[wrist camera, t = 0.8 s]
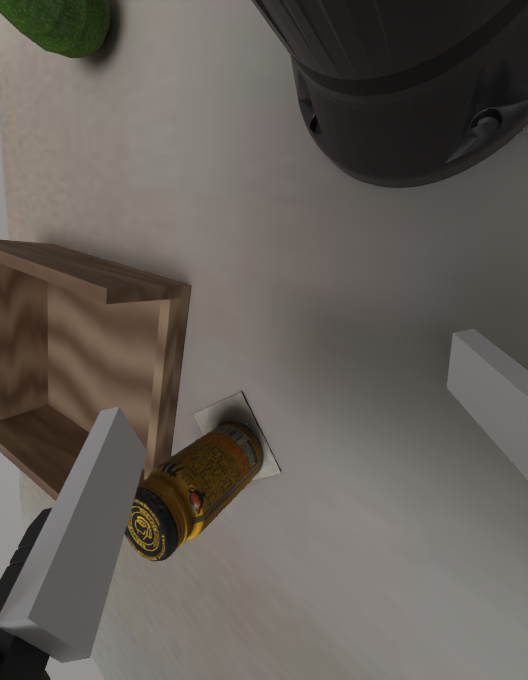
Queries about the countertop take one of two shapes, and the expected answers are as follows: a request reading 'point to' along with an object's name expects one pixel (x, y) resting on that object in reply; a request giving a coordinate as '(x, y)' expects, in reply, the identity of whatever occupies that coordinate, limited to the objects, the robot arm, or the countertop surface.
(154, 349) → the tray
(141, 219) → the countertop surface
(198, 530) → the condiment
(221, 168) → the countertop surface
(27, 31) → the avocado
